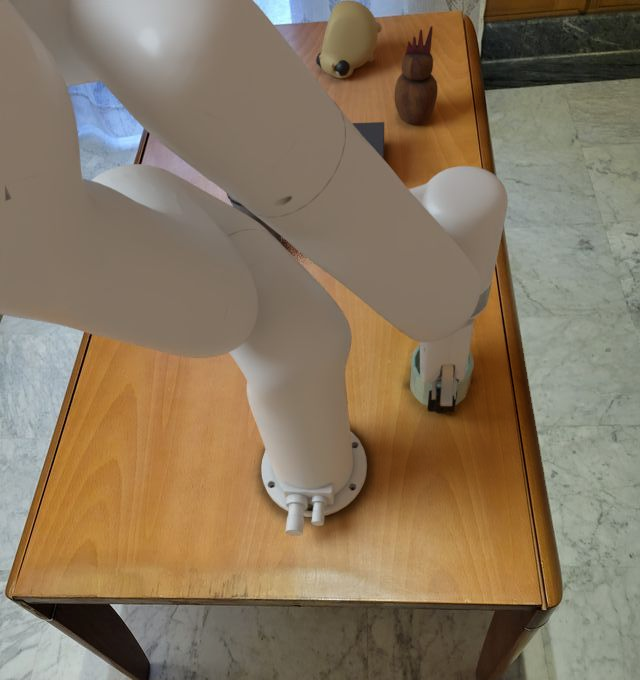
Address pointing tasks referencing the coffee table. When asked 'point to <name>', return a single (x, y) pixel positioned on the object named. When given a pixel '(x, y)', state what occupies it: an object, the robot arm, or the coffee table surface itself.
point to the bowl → (422, 389)
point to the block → (373, 134)
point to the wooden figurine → (416, 83)
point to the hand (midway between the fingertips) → (440, 381)
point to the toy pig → (348, 39)
